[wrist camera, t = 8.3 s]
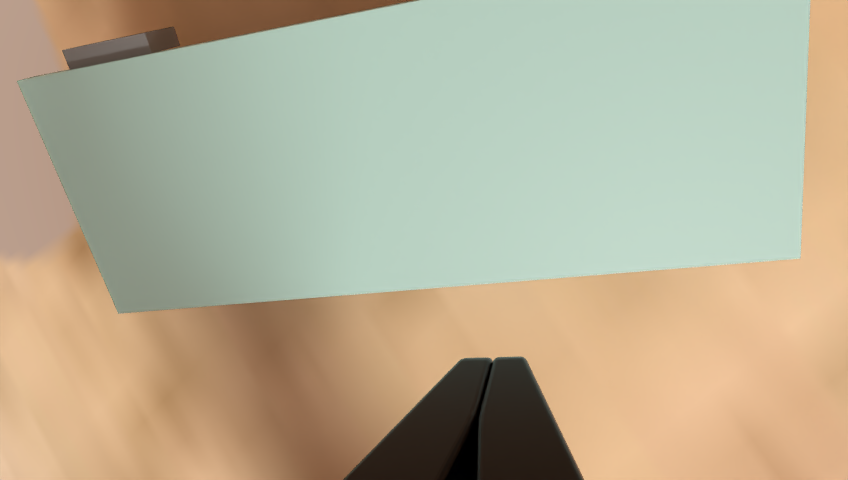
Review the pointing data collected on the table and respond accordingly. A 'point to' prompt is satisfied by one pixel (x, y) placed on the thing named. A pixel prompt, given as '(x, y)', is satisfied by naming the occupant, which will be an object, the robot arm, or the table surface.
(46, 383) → the table surface
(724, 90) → the duct cover
